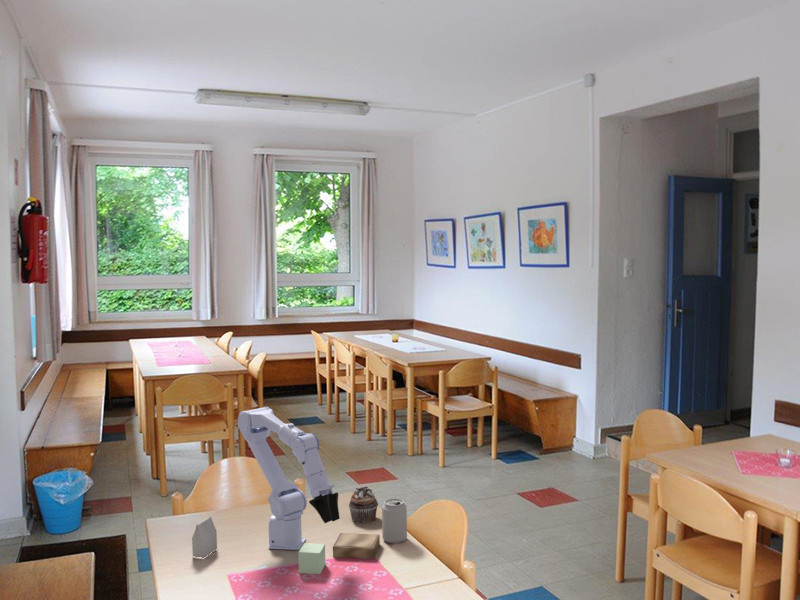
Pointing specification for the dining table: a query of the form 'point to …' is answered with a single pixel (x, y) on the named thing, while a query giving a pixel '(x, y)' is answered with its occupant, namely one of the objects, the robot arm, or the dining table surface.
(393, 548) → the dining table surface
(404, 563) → the dining table surface
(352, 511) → the cupcake
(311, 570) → the green cube
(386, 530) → the can
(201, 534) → the grey angular block
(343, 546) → the brown shallow tray
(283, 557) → the dining table surface
